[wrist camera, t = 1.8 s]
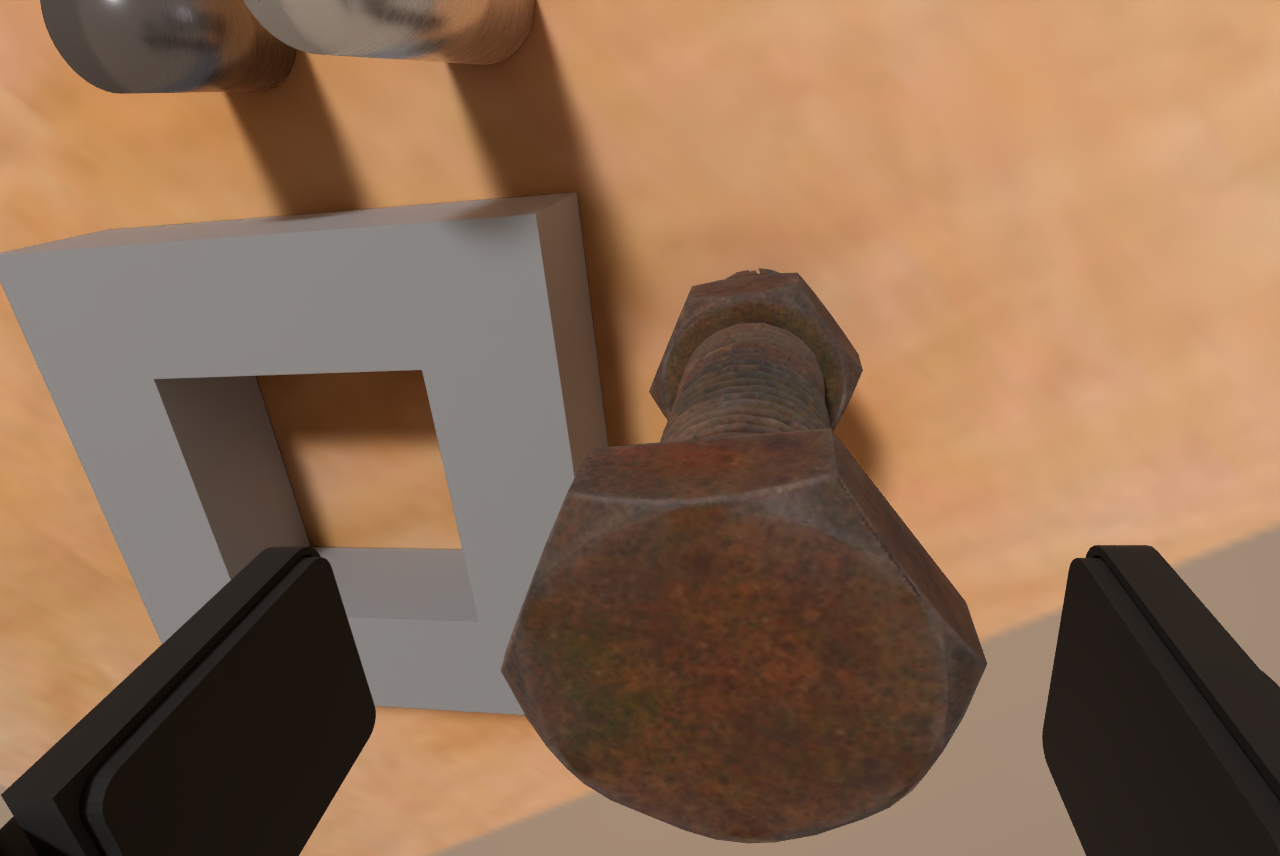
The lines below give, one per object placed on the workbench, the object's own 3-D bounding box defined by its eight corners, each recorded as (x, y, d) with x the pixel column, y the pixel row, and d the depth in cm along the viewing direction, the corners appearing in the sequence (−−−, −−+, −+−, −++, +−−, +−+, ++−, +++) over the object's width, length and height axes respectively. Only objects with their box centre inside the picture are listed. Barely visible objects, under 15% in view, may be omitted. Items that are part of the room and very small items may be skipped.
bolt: (674, 407, 24) (534, 837, 10) (648, 248, 22) (431, 518, 8) (865, 389, 22) (994, 854, 9) (855, 218, 20) (1001, 481, 7)
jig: (577, 192, 21) (536, 214, 18) (632, 638, 28) (610, 720, 24) (104, 230, 24) (-12, 255, 21) (253, 623, 31) (184, 694, 27)
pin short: (278, -37, 20) (134, -70, 16) (308, 85, 21) (183, 86, 17) (182, -22, 21) (17, -51, 16) (217, 96, 22) (73, 99, 17)
